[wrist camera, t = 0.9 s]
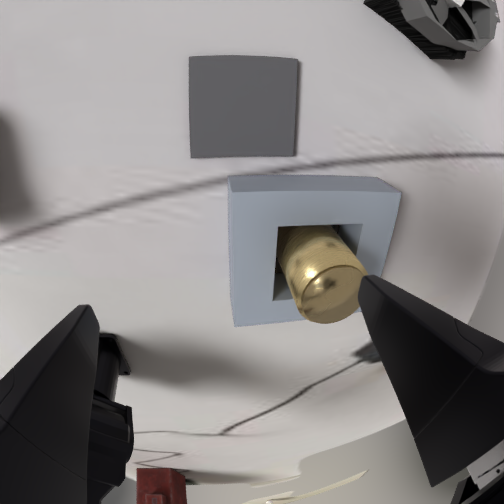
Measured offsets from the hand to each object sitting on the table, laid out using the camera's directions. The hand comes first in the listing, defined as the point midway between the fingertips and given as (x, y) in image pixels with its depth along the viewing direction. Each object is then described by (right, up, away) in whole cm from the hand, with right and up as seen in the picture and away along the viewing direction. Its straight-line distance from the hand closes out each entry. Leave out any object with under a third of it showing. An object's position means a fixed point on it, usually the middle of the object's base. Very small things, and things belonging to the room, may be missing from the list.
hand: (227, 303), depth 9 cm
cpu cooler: (+14, +22, +5) cm, 27 cm away
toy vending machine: (-21, -50, +42) cm, 69 cm away
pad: (0, +11, +9) cm, 14 cm away
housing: (+5, +3, +15) cm, 16 cm away
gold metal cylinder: (+5, +3, +15) cm, 16 cm away
